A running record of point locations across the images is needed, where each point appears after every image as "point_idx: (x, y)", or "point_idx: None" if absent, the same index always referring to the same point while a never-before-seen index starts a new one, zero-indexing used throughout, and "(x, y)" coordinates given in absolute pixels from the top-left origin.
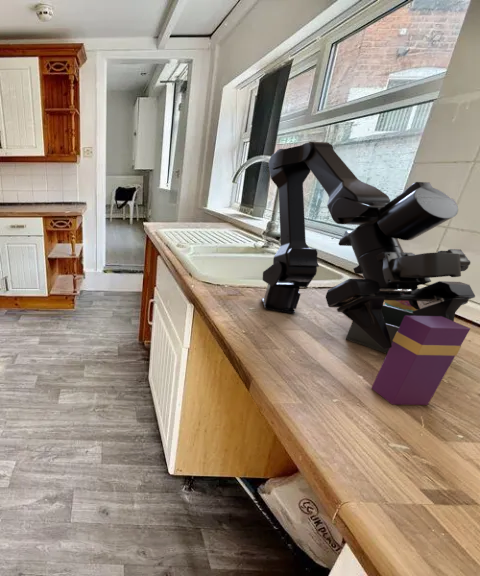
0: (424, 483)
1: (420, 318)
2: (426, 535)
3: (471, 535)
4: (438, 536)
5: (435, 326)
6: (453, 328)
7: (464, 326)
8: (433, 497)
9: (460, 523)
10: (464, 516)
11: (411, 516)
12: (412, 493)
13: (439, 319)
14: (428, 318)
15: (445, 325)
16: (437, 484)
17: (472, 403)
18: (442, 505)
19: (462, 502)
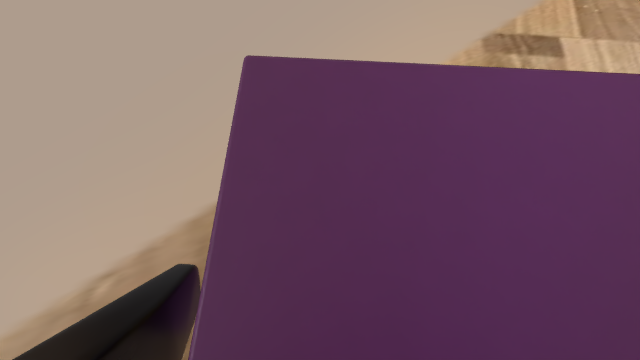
0: (544, 64)
1: (633, 293)
2: (612, 6)
3: (542, 2)
4: (595, 4)
5: (611, 94)
6: (428, 67)
7: (261, 85)
8: (550, 45)
9: (543, 14)
10: (526, 21)
11: (615, 25)
12: (583, 51)
13: (365, 255)
14: (503, 291)
15: (463, 110)
16: (520, 61)
17: (134, 256)
18: (546, 34)
19: (506, 36)
